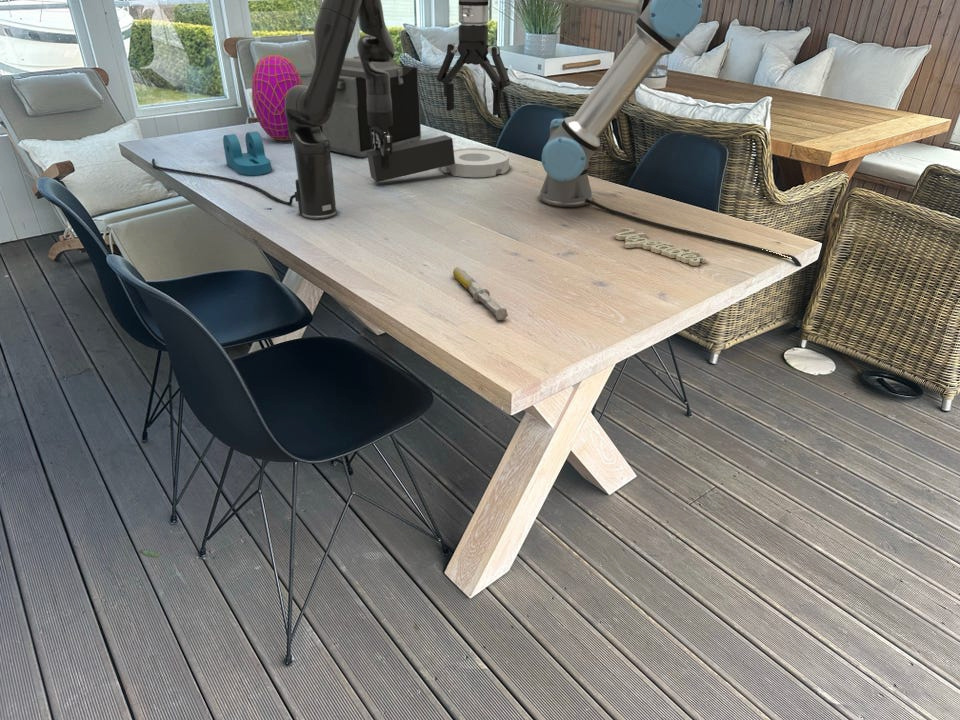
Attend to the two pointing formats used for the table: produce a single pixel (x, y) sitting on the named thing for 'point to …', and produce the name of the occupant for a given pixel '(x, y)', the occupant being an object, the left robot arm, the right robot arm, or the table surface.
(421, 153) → the bar
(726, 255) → the table surface
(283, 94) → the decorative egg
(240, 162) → the camera mount
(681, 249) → the decorative sign
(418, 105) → the cooler box
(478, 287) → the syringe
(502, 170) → the ashtray
